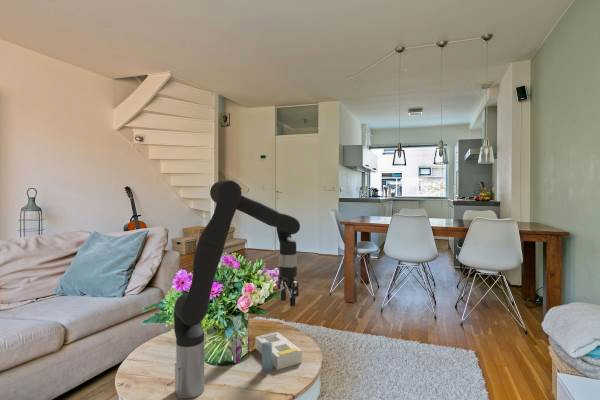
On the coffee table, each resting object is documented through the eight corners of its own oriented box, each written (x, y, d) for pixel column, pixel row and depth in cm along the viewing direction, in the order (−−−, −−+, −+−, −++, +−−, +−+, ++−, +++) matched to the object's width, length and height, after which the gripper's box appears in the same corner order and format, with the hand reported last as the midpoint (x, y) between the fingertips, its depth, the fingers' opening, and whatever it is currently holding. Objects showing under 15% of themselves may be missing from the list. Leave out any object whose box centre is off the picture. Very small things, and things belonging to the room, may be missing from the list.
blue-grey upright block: (264, 373, 128) (264, 347, 128) (260, 368, 132) (260, 343, 132) (273, 370, 130) (273, 344, 130) (269, 366, 134) (269, 341, 134)
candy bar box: (239, 350, 148) (239, 313, 148) (249, 352, 146) (249, 314, 146) (225, 362, 137) (225, 321, 137) (236, 364, 136) (236, 323, 136)
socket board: (277, 369, 131) (277, 356, 131) (255, 348, 150) (255, 336, 150) (301, 362, 137) (301, 349, 137) (277, 342, 156) (277, 331, 156)
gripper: (272, 262, 146) (272, 300, 146) (287, 268, 133) (287, 309, 133) (288, 261, 149) (288, 297, 149) (304, 266, 137) (304, 306, 137)
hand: (287, 303), depth 141 cm, fingers open, 8 cm apart
